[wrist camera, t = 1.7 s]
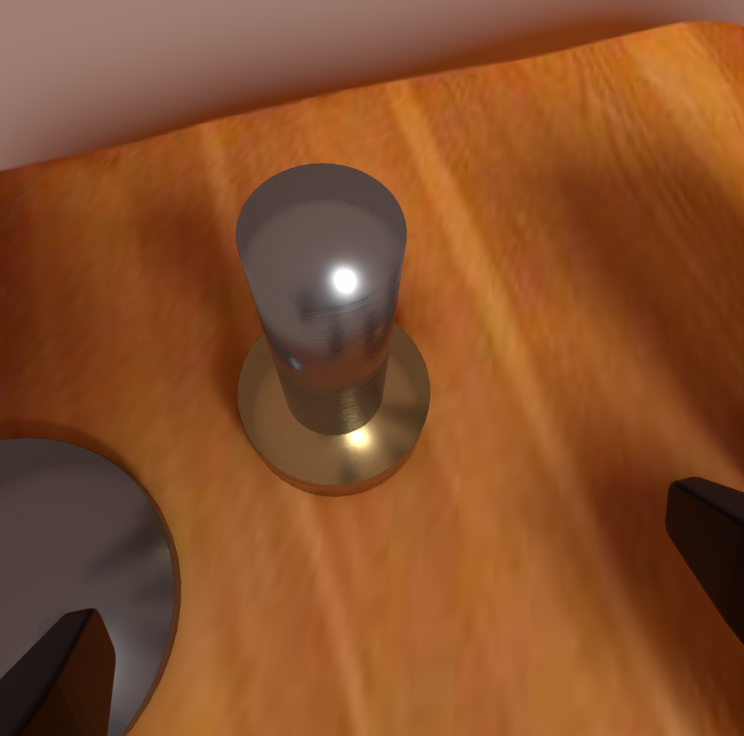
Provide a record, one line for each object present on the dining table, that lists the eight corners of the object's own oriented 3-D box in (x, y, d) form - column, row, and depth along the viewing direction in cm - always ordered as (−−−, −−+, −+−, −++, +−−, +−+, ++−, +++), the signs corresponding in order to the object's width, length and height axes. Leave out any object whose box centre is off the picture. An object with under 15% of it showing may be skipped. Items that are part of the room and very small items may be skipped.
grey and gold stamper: (444, 363, 24) (522, 158, 13) (388, 523, 22) (427, 437, 11) (290, 310, 25) (241, 73, 14) (218, 458, 22) (88, 314, 11)
